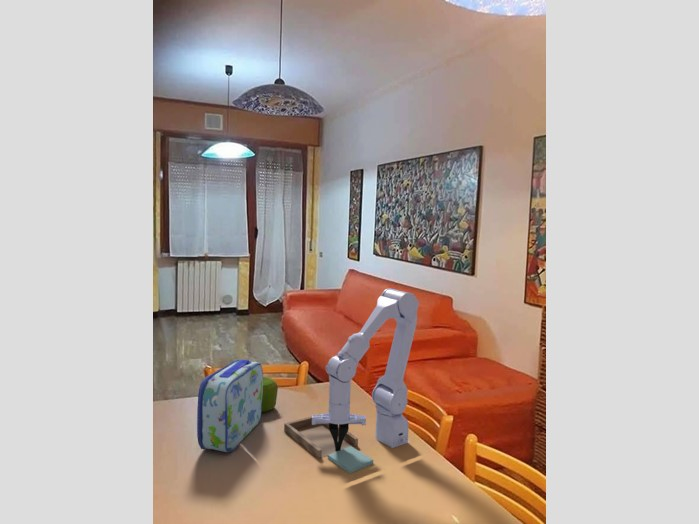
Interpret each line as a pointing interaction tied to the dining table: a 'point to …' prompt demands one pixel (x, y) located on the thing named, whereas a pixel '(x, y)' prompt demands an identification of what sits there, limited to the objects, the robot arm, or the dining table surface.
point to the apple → (269, 394)
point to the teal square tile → (350, 459)
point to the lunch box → (229, 405)
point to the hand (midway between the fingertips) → (337, 449)
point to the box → (317, 437)
